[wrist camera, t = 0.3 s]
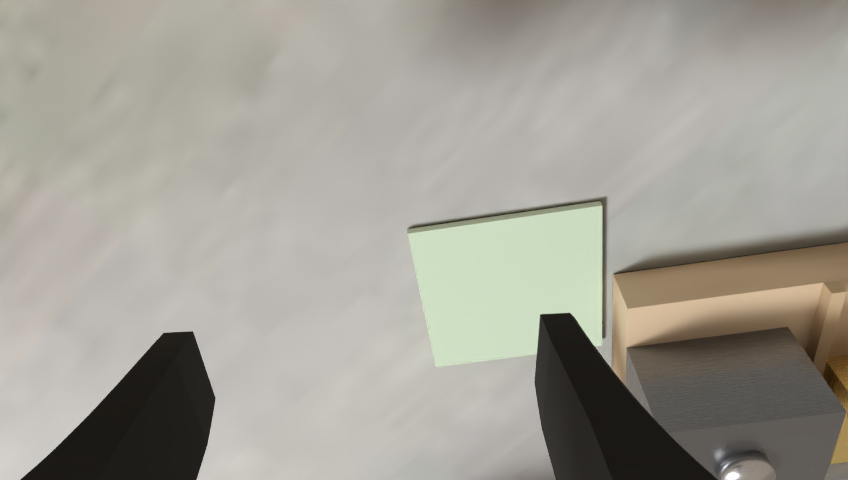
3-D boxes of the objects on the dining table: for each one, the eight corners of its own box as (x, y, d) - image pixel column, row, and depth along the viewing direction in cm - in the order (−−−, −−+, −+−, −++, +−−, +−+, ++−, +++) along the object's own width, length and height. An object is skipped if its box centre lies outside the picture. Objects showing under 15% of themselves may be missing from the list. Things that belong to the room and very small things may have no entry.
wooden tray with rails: (876, 390, 30) (912, 437, 28) (611, 422, 31) (626, 471, 29) (934, 230, 25) (985, 273, 23) (613, 274, 25) (632, 319, 23)
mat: (600, 340, 28) (602, 345, 27) (435, 362, 28) (435, 367, 28) (600, 201, 23) (602, 205, 23) (407, 229, 24) (407, 233, 24)
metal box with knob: (768, 413, 27) (824, 511, 24) (623, 430, 28) (657, 530, 24) (788, 326, 25) (855, 423, 21) (626, 347, 25) (664, 446, 21)
